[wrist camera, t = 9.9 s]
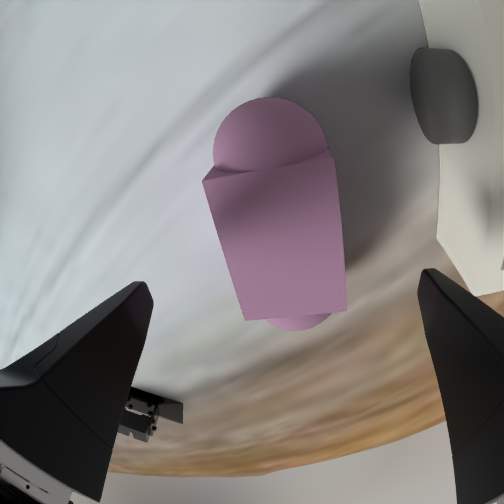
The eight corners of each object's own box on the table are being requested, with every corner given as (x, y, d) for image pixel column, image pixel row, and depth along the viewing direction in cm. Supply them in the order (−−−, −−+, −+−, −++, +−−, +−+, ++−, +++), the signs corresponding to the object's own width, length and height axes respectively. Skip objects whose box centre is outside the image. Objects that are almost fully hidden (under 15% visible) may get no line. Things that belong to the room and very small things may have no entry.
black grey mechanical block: (97, 392, 31) (83, 423, 27) (86, 358, 27) (66, 393, 23) (196, 426, 31) (187, 460, 27) (202, 397, 27) (190, 439, 23)
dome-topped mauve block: (215, 105, 13) (184, 118, 9) (313, 87, 12) (323, 91, 8) (263, 294, 18) (255, 352, 15) (338, 286, 17) (347, 344, 14)
